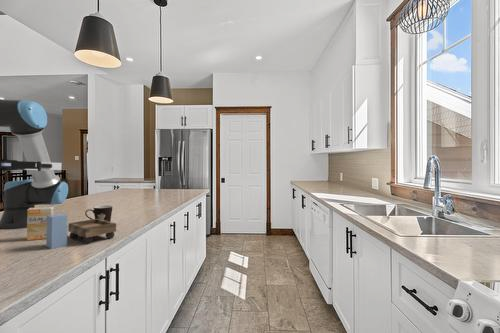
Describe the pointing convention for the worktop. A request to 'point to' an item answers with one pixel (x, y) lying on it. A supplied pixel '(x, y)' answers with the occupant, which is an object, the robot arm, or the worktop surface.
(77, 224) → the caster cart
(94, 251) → the worktop surface
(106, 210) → the coffee mug
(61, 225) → the slate post
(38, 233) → the supplement box
